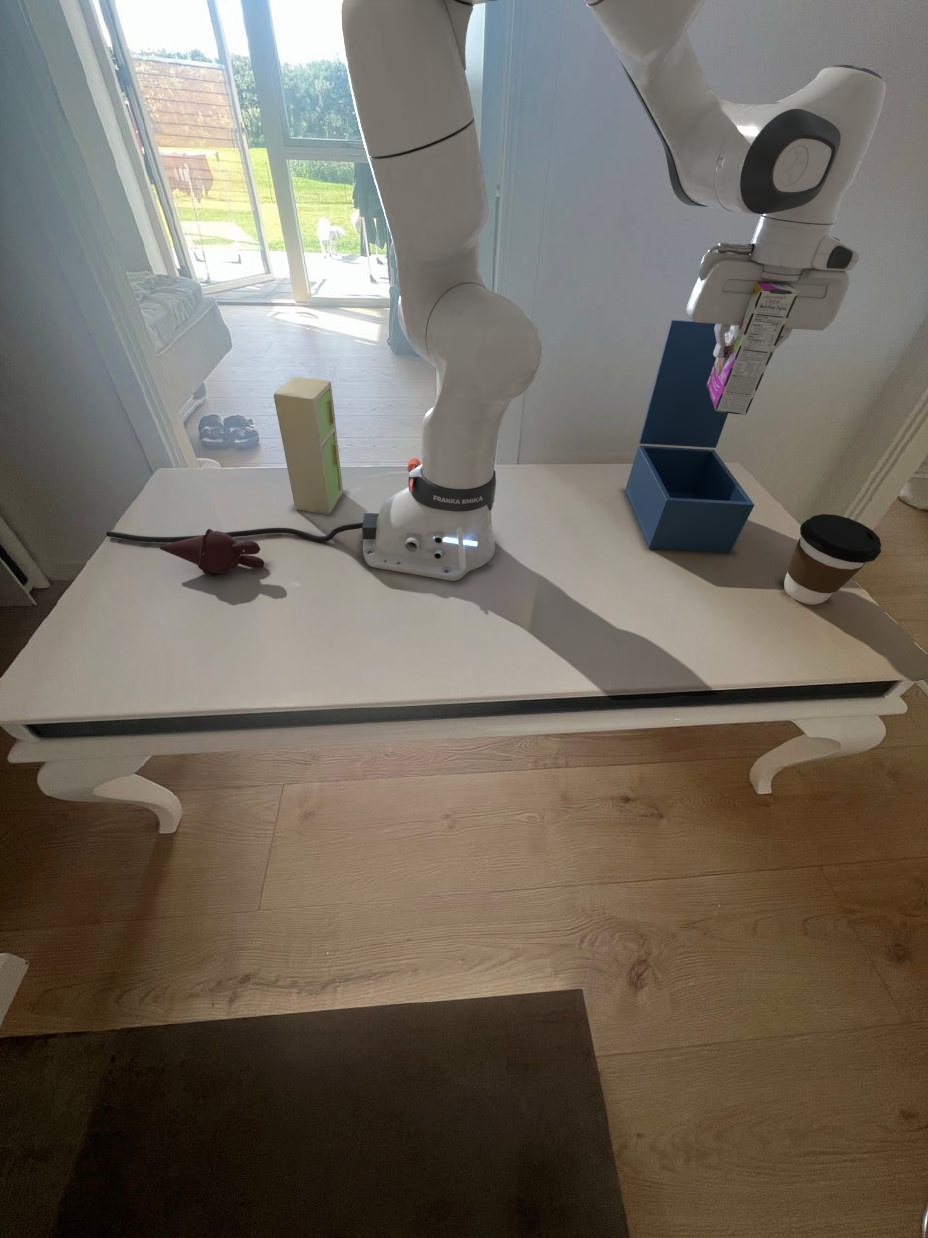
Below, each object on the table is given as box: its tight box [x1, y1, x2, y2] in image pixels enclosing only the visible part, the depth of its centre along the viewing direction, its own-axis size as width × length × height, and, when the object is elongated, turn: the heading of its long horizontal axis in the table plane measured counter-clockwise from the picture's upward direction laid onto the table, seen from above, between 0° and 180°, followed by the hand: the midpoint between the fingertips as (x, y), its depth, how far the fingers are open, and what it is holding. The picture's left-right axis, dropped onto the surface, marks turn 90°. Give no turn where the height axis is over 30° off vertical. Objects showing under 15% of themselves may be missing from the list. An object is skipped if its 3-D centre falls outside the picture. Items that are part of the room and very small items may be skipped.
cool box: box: [624, 445, 755, 554], centre depth 96 cm, size 20×15×10 cm
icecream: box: [159, 528, 265, 576], centre depth 80 cm, size 7×7×15 cm
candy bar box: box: [706, 282, 799, 416], centre depth 77 cm, size 11×5×16 cm, turn 168°
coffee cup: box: [783, 513, 882, 606], centre depth 82 cm, size 11×11×12 cm
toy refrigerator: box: [273, 375, 344, 515], centre depth 90 cm, size 8×7×21 cm
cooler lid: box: [638, 319, 729, 449], centre depth 95 cm, size 21×15×5 cm
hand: (741, 358), depth 78 cm, fingers closed on candy bar box, 5 cm apart
